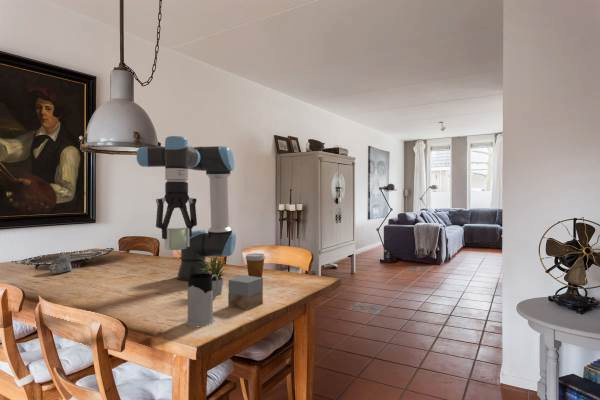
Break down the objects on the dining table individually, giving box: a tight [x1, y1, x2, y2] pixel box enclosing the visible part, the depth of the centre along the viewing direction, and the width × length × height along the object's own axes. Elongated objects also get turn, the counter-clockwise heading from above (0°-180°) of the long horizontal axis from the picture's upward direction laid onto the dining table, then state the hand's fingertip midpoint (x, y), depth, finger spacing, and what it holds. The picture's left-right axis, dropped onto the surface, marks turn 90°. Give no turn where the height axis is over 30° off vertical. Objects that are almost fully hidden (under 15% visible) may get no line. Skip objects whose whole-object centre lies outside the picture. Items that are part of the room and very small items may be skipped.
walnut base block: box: [227, 291, 264, 311], centre depth 134 cm, size 9×9×5 cm
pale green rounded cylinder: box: [167, 227, 187, 251], centre depth 125 cm, size 6×6×7 cm
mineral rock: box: [48, 253, 73, 275], centre depth 190 cm, size 13×11×10 cm
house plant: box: [199, 256, 229, 296], centre depth 149 cm, size 14×14×16 cm
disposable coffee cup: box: [245, 252, 266, 278], centre depth 175 cm, size 10×10×12 cm
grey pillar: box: [186, 273, 218, 328], centre depth 118 cm, size 9×14×15 cm, turn 159°
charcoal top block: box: [228, 274, 264, 297], centre depth 134 cm, size 9×9×5 cm
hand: (177, 247), depth 125 cm, fingers closed on pale green rounded cylinder, 6 cm apart
